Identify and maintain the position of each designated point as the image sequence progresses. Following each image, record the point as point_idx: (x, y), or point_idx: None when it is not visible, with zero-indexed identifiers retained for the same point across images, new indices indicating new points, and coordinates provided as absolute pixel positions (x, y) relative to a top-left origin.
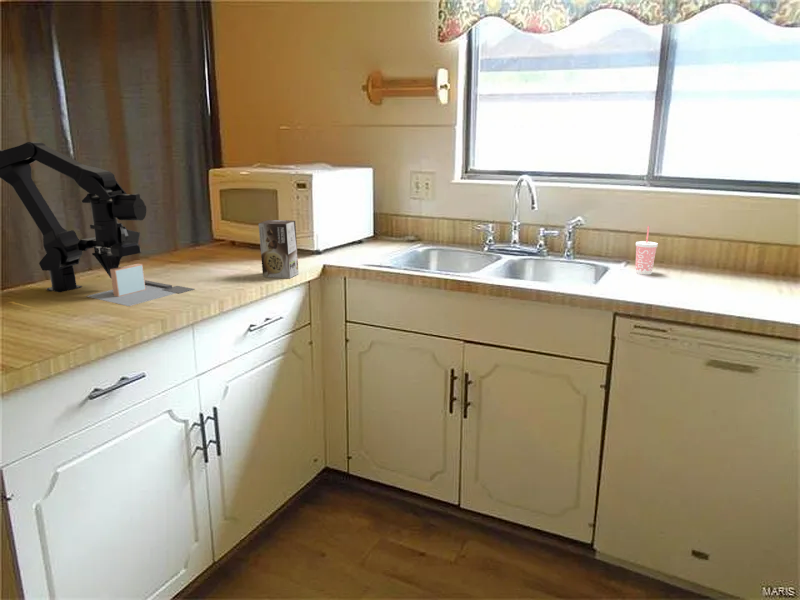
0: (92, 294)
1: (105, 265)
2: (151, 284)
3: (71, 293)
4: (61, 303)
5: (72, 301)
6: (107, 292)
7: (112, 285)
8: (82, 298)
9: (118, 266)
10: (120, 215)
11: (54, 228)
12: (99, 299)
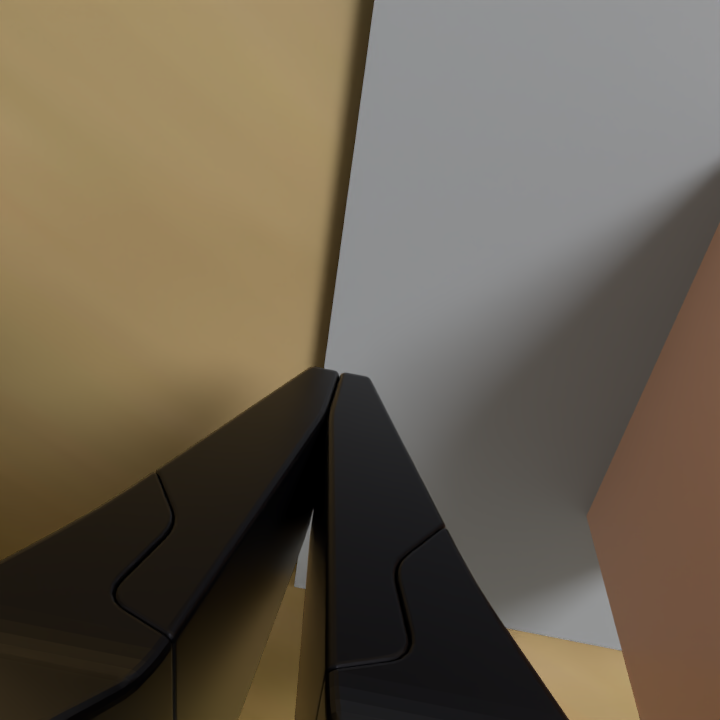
0: None
1: (239, 714)
2: None
3: (9, 499)
4: (270, 708)
5: (298, 663)
6: None
7: (618, 627)
8: (289, 592)
9: (444, 523)
10: None
11: None
12: (534, 632)
